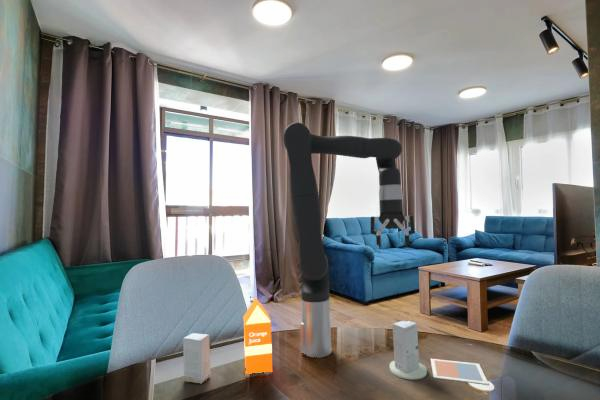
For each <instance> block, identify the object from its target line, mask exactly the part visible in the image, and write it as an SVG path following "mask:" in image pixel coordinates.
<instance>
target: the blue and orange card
mask: <svg viewBox="0 0 600 400" xmlns="http://www.w3.org/2000/svg"><path fill="white" fill-rule="evenodd" d="M430 364H431V370H432V377H433V379H440V380H441V379H442V380H449V381H455V382H464V383H470V384H471V383H472V384H478V385H479V384H481V385H488V386H489V382H488V379H487V377H486V375H485V372H484V371H483V369H482V367H481V365H480V363H475V362H467V361H459V360H450V359H449V360H448V359H447V360H446V359H439V358H430Z"/></svg>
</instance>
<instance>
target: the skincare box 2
mask: <svg viewBox="0 0 600 400" xmlns="http://www.w3.org/2000/svg"><path fill="white" fill-rule="evenodd" d="M418 336H419V335H418V322H413V321H411V320H406V319H404V320H401V321H398V322H395V323H392V340H393V357H394V358H393V359H394V360H393V361H394V362H395V367H396V368H397V369H399V370H402V371H404V372H406V373H407V372H409V371H412V370H414V369H416V368H418V367H419V366H420V364H419V362H420V353H419V352H420V351H419V337H418Z"/></svg>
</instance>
